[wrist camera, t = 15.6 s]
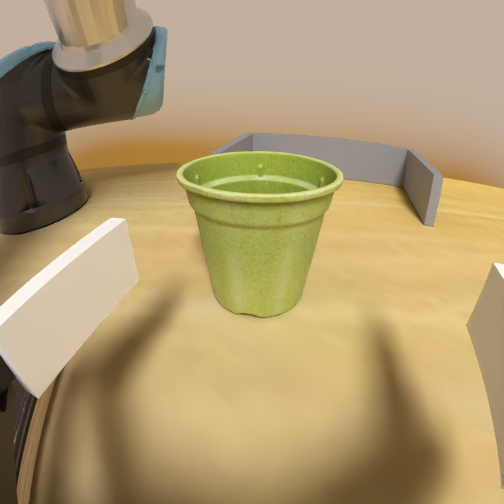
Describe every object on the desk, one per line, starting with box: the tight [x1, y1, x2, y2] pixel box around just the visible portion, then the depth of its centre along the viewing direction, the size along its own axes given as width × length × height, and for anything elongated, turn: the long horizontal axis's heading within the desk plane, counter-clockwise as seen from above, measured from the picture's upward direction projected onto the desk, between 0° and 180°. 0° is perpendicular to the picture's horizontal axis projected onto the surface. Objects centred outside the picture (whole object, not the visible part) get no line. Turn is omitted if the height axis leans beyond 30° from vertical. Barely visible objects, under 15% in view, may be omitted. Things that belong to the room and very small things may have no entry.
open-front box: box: [211, 133, 444, 226], centre depth 39 cm, size 26×15×6 cm, turn 75°
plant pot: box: [177, 151, 343, 317], centre depth 19 cm, size 9×9×9 cm
